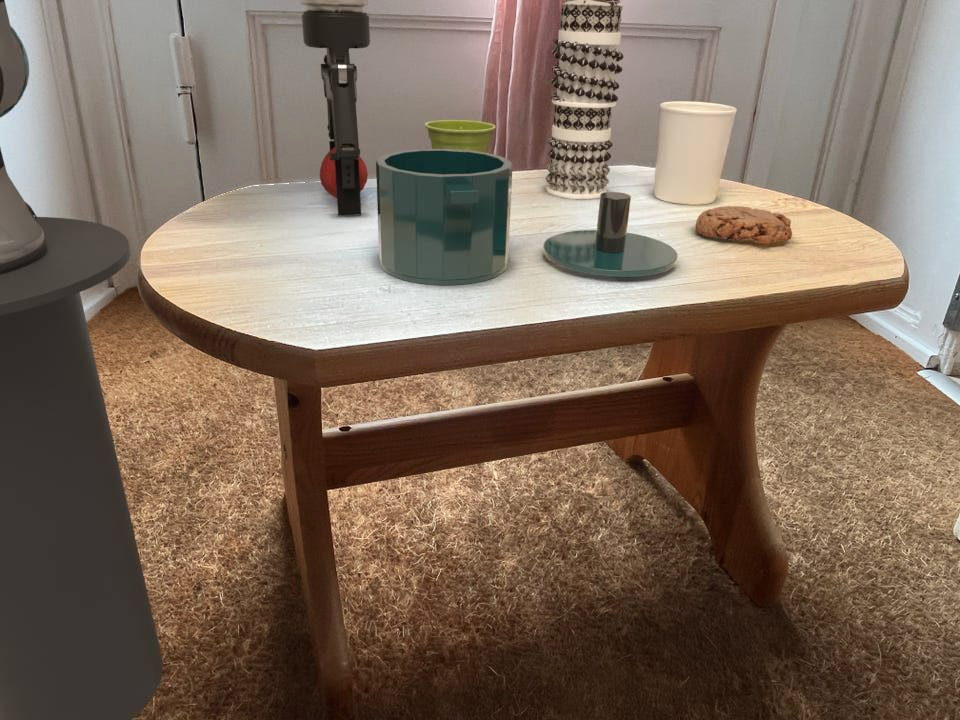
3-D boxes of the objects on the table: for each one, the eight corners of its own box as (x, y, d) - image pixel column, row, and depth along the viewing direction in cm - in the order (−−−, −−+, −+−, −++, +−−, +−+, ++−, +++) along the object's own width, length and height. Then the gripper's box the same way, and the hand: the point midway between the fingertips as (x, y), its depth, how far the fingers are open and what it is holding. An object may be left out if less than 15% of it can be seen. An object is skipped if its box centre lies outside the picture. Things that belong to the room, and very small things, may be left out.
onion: (313, 206, 91) (308, 140, 88) (335, 196, 96) (331, 133, 93) (355, 211, 90) (352, 144, 86) (376, 201, 95) (373, 137, 91)
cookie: (680, 225, 88) (684, 200, 87) (759, 222, 91) (764, 198, 89) (721, 250, 80) (726, 223, 78) (808, 247, 82) (814, 220, 81)
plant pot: (439, 179, 107) (439, 117, 103) (501, 185, 104) (503, 122, 101) (414, 193, 99) (414, 126, 95) (481, 200, 96) (483, 132, 93)
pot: (392, 299, 64) (389, 184, 60) (371, 239, 80) (367, 144, 75) (530, 291, 67) (537, 181, 62) (483, 234, 83) (486, 143, 78)
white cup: (721, 193, 104) (736, 104, 99) (720, 209, 96) (738, 113, 91) (651, 186, 107) (662, 99, 101) (644, 202, 98) (657, 108, 93)
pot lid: (568, 286, 68) (574, 215, 65) (526, 243, 80) (530, 181, 77) (700, 278, 71) (712, 210, 68) (641, 238, 83) (649, 178, 80)
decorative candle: (529, 188, 103) (540, -11, 92) (576, 181, 108) (592, -9, 97) (574, 202, 97) (592, -10, 86) (622, 194, 102) (645, -8, 91)
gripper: (380, 12, 74) (386, 226, 84) (359, 8, 94) (366, 180, 104) (303, 10, 72) (319, 229, 82) (299, 6, 92) (312, 182, 102)
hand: (346, 202), depth 93 cm, fingers open, 11 cm apart
